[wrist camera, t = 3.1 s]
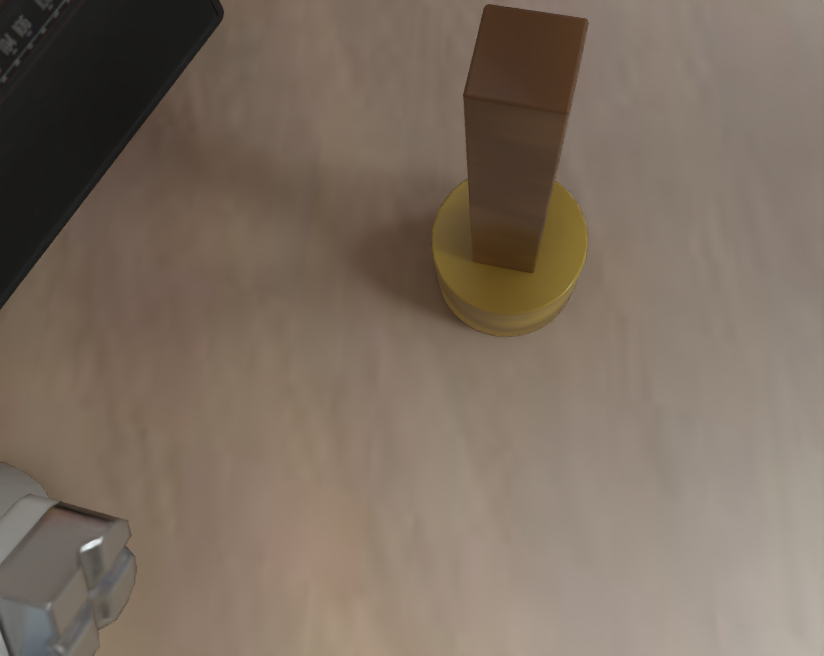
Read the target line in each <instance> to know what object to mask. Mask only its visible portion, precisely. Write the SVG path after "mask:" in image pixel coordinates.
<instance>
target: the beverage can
mask: <svg viewBox="0 0 824 656" xmlns="http://www.w3.org/2000/svg"><path fill="white" fill-rule="evenodd" d="M29 493H30V494H34V495H38V496H42V497H46V498H49V497H48V496H47V494H46V492H45V491H44V490H43V489H42V487H41V486H40V485H39V484H38V483H37V482H36V481H35V480H34V479H32V478H31V477H30V476H29V475H27V474H26V473H24V472H23V471H21V470H19V469H18V468H15V467H13V466H10V465H8V464H4V463H0V518H1V517H2V516H3V515H4V514H5V513H6V512H7V511H8V510H9V508H10V507H11V506H12V505H13V504H14V503H15V502H16V501H17V500H18V499H20V498H22V497H24V496H26V495H28V494H29Z"/></svg>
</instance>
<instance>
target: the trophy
mask: <svg viewBox="0 0 824 656" xmlns="http://www.w3.org/2000/svg"><path fill="white" fill-rule="evenodd" d="M588 24H589V23H588V20H587V19H585V18H579V17H572V16H565V15H558V14H552V13H545V12H538V11H531V10H524V9H518V8H511V7H504V6H497V5H491V4H487V5H486V6H485V7H484V10H483V14H482V18H481V22H480V26H479V31H478V35H477V39H476V43H475V47H474V52H473V56H472V60H471V64H470V68H469V73H468V77H467V81H466V85H465V89H464V94H463V99H464V117H465V135H466V153H467V171H468V179H467V180H465V181H464V182H463V183H461V184H460V185H458V186H457V187H456V188H455V189H454V190H453V191H452V192H451V193H450V194H449V196H448V197H447V198H446V199H445V201H444V202H443V204H442V205H441V207H440V209H439V211H438V213H437V215H436V218H435V221H434V225H433V230H432V241H431V245H432V254H433V259H434V263H435V268H436V272H437V277H438V281H439V286H440V290H441V292H442V295H443V297H444V299H445V301H446V303H447V305H448V306H449V308H450V309H451V310H452V311H453V313H454V314H455V315H456V316H457V317H458V318H459V319H460V320H462V321H463V322H464V323H465V324H467V325H468V326H470V327H472V328H474V329H476V330H478V331H480V332H483V333H486V334H490V335H495V336H508V337H511V336H519V335H523V334H527V333H530V332H533V331H536V330H538V329H540V328H541V327H543V326H545V325H546V324H548V323H549V322H551V321H552V320H553V319H554V318H555V317H556V316H557V315H558V314H559V313H560V312H561V311H562V309H563V308H564V307H565V305H566V303H567V302H568V300H569V298H570V296H571V294H572V291H573V289H574V287H575V284H576V282H577V280H578V277H579V275H580V273H581V270H582V268H583V266H584V263H585V259H586V256H587V249H588V233H587V226H586V223H585V219H584V216H583V214H582V212H581V209H580V207H579V206H578V204H577V203H576V201H575V199H574V198H573V197H572V196H571V194H570V193H569V192H568V191H567V190H566V189H565V188H564V187H563V186H561V185H560V184H559V183H557V182H556V181H555V178H556V173H557V169H558V164H559V160H560V155H561V151H562V146H563V142H564V137H565V133H566V128H567V124H568V119H569V115H570V110H571V106H572V101H573V96H574V91H575V86H576V82H577V77H578V72H579V67H580V62H581V58H582V53H583V48H584V43H585V38H586V33H587V29H588Z"/></svg>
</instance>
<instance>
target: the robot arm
mask: <svg viewBox="0 0 824 656" xmlns="http://www.w3.org/2000/svg"><path fill="white" fill-rule="evenodd" d="M131 536H132V534H131V530H130V526H129V521H128V520H125V519H122V518H118V517H114V516H111V515H107V514H104V513H100V512H96V511H93V510H89V509H86V508H82V507H78V506H75V505H71V504H67V503H64V502H61V501H57V500H53V499H50V498H46V497H42V496H38V495H34V494H30V493H29V494H28V495H26V496H24V497H22V498H20V499H18V500H17V501H16V502H15V503H14V504H13V505H12V506H11V507H10V508H9V510H8V511H7V512H6V513H5V514H4V515H3V516H2V517H1V518H0V656H94V655H95V653H96V652H97V650H98V648H99V647H100V646H99V632H98V630H100V629H102V628H104V627H105V626H107V625H109V624H111V623H112V622H114V621H116V620H117V619H118V617H119V616H120V614H121V613H122V611H123V609H124V608H125V606H126V604H127V603H128V601H129V598H130V595H131V593H132V590H133V587H134V585H135V581H136V572H137V565H136V558H135V555H134V554H133V553H132V552H131V551H130V550H129V549H128V547H127V546H126V544H127V542H128V541H129V539H130V538H131Z"/></svg>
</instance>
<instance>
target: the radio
mask: <svg viewBox="0 0 824 656" xmlns="http://www.w3.org/2000/svg"><path fill="white" fill-rule="evenodd" d="M223 14H224V11H223V7H222V5H221V3H220V1H219V0H0V309H1V308H2V307H3V305H4V304H5V303H6V301H7V300H8V299H9V298H10V296H11V295H12V294H13V292H14V291H15V290H16V288H17V287H18V286H19V284H20V283H21V282H22V281H23V279H24V278H25V277H26V275H27V274H28V273H29V271H30V270H31V269H32V268H33V266H34V265H35V264H36V262H37V261H38V260H39V258H40V257H41V256H42V255H43V253H44V252H45V251H46V249H47V248H48V247H49V245H50V244H51V243H52V241H53V240H54V239H55V238H56V236H57V235H58V234H59V232H60V231H61V230H62V228H63V227H64V226H65V225H66V223H67V222H68V221H69V219H70V218H71V217H72V215H73V214H74V213H75V212H76V210H77V209H78V208H79V206H80V205H81V204H82V202H83V201H84V200H85V198H86V197H87V196H88V195H89V193H90V192H91V191H92V189H93V188H94V187H95V185H96V184H97V183H98V182H99V180H100V179H101V178H102V176H103V175H104V174H105V172H106V171H107V170H108V168H109V167H110V166H111V165H112V163H113V162H114V161H115V159H116V158H117V157H118V155H119V154H120V153H121V152H122V150H123V149H124V148H125V146H126V145H127V144H128V142H129V141H130V140H131V139H132V137H133V136H134V135H135V133H136V132H137V131H138V129H139V128H140V127H141V125H142V124H143V123H144V122H145V120H146V119H147V118H148V116H149V115H150V114H151V112H152V111H153V110H154V109H155V107H156V106H157V105H158V103H159V102H160V101H161V99H162V98H163V97H164V96H165V94H166V93H167V92H168V90H169V89H170V88H171V86H172V85H173V84H174V82H175V81H176V80H177V79H178V77H179V76H180V75H181V73H182V72H183V71H184V69H185V68H186V67H187V66H188V64H189V63H190V62H191V60H192V59H193V58H194V56H195V55H196V54H197V52H198V51H199V50H200V49H201V47H202V46H203V45H204V43H205V42H206V41H207V39H208V38H209V37H210V36H211V34H212V33H213V32H214V30H215V29H216V28H217V26H218V25H219V24H220V22H221V20H222V19H223Z"/></svg>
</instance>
